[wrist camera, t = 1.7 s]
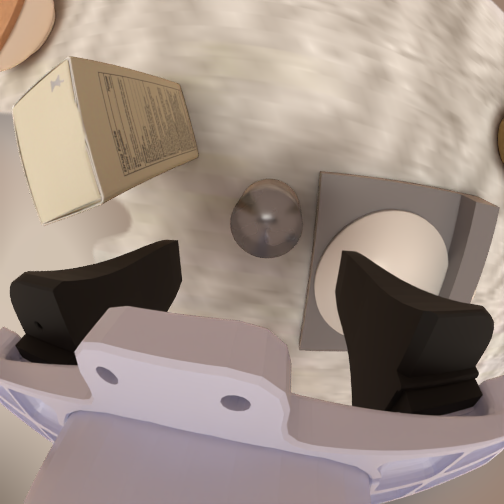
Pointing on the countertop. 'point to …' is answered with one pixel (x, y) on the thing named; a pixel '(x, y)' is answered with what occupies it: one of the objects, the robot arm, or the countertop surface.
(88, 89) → the skincare box
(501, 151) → the squeeze bottle
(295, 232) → the cylinder
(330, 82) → the countertop surface
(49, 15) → the lidded jar
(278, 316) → the countertop surface
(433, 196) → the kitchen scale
